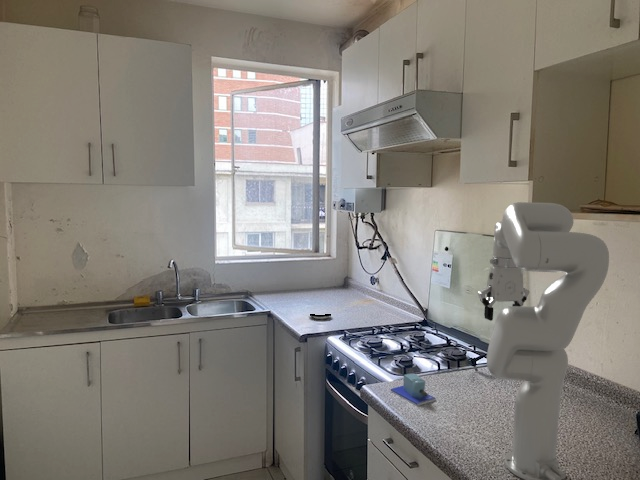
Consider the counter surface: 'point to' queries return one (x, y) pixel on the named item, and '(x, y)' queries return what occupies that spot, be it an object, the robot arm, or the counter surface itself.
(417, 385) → the plug
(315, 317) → the spoon rest
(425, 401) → the hard drive
